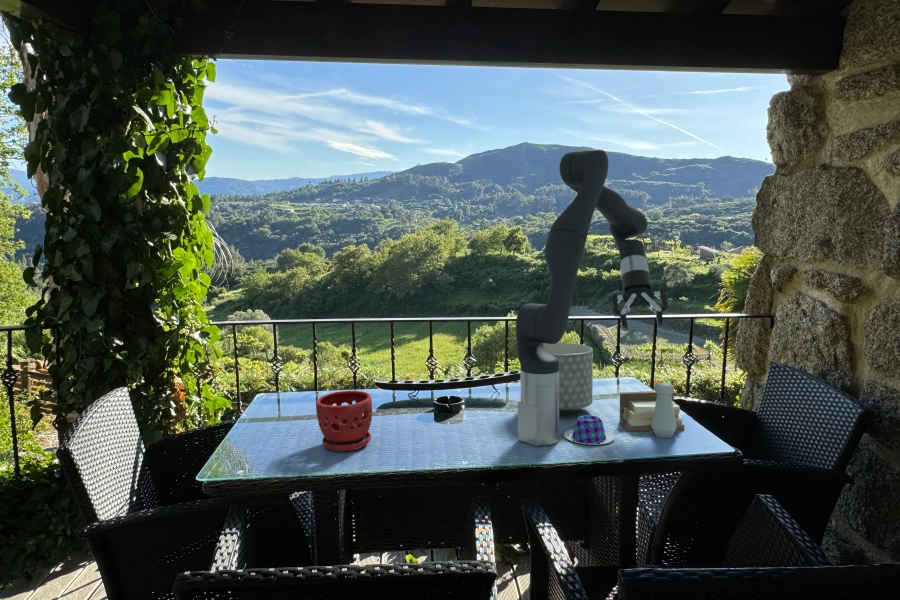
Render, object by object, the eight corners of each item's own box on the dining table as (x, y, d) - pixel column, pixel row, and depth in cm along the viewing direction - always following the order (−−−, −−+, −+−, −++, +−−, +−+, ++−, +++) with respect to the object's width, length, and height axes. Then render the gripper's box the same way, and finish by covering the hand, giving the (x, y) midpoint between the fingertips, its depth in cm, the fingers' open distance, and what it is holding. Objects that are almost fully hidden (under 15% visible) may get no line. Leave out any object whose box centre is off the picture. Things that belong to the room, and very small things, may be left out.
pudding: (597, 428, 143) (597, 409, 143) (624, 444, 132) (624, 422, 131) (555, 434, 140) (555, 413, 139) (579, 450, 128) (580, 428, 128)
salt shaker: (679, 439, 133) (680, 386, 132) (655, 439, 133) (656, 386, 132) (670, 431, 139) (671, 380, 138) (647, 431, 139) (648, 380, 138)
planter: (595, 421, 148) (596, 354, 146) (524, 419, 151) (523, 354, 149) (589, 402, 166) (589, 342, 165) (525, 400, 169) (525, 342, 168)
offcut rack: (684, 429, 140) (685, 398, 139) (630, 431, 140) (630, 400, 139) (671, 420, 148) (671, 390, 147) (619, 421, 147) (619, 392, 147)
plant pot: (330, 435, 141) (328, 389, 140) (379, 437, 139) (378, 390, 137) (308, 454, 128) (306, 403, 127) (363, 456, 126) (361, 405, 125)
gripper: (609, 271, 155) (615, 324, 148) (662, 265, 151) (672, 320, 144) (609, 283, 161) (615, 335, 154) (660, 278, 158) (669, 330, 151)
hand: (642, 327), depth 149 cm, fingers open, 8 cm apart
